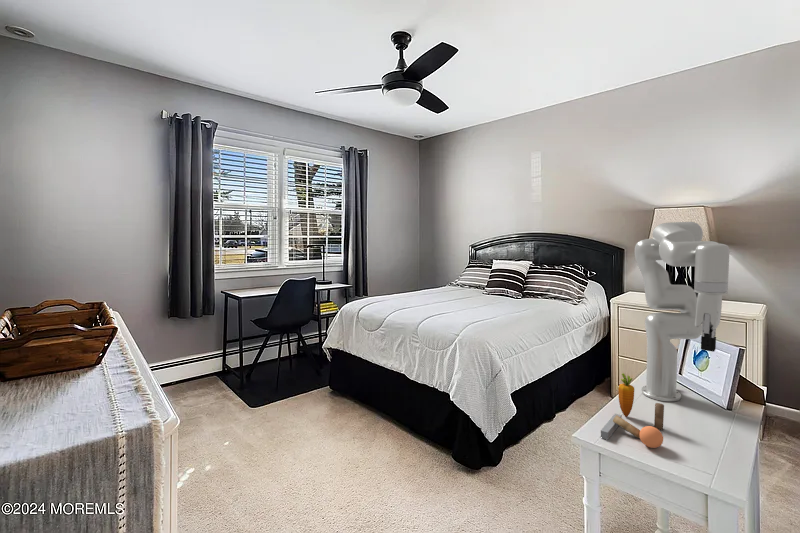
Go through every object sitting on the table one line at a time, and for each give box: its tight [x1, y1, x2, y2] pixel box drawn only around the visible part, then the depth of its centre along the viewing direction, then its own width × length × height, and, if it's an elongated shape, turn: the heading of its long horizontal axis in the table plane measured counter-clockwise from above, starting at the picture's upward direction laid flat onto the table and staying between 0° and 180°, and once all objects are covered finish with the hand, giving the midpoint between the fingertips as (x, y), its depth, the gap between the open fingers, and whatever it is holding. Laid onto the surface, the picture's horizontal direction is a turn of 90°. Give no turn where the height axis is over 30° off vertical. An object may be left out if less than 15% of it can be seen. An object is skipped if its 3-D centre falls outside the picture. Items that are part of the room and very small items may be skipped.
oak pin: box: [613, 415, 641, 439], centre depth 126 cm, size 2×2×8 cm
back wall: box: [600, 413, 623, 441], centre depth 129 cm, size 14×2×2 cm, turn 135°
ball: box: [639, 425, 664, 449], centre depth 118 cm, size 6×6×6 cm
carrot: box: [617, 372, 635, 418], centre depth 136 cm, size 5×5×15 cm
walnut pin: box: [653, 402, 665, 431], centre depth 128 cm, size 2×2×8 cm
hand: (708, 349), depth 115 cm, fingers closed
